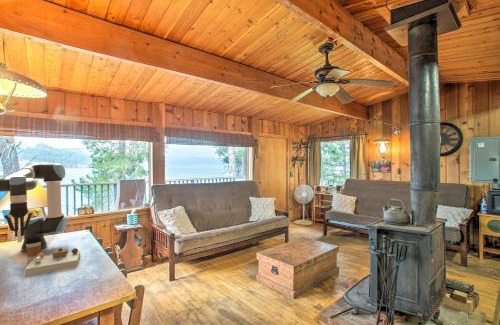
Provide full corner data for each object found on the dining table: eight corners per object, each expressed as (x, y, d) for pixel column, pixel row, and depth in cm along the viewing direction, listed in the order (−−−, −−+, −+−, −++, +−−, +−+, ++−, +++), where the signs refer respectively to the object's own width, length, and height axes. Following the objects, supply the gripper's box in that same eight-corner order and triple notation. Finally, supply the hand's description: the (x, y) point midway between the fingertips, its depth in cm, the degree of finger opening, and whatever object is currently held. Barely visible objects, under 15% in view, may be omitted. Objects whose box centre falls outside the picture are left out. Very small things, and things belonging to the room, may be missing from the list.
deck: (33, 264, 166) (33, 257, 166) (80, 256, 178) (80, 250, 178) (25, 276, 149) (24, 269, 149) (77, 266, 161) (77, 260, 161)
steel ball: (35, 262, 159) (35, 256, 159) (42, 261, 160) (42, 255, 160) (33, 264, 156) (33, 258, 156) (41, 263, 157) (41, 257, 157)
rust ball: (37, 257, 166) (37, 252, 166) (44, 256, 168) (44, 251, 168) (36, 259, 163) (36, 254, 163) (43, 258, 165) (43, 253, 165)
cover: (54, 254, 171) (54, 248, 171) (67, 252, 175) (67, 246, 175) (52, 257, 165) (52, 251, 165) (66, 255, 169) (66, 249, 169)
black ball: (72, 253, 173) (71, 248, 173) (78, 252, 175) (78, 247, 175) (71, 254, 170) (71, 249, 170) (77, 253, 172) (77, 248, 172)
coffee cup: (32, 263, 168) (32, 240, 168) (22, 262, 169) (21, 239, 169) (45, 258, 176) (44, 236, 176) (35, 257, 178) (34, 236, 178)
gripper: (1, 204, 147) (3, 245, 147) (31, 201, 154) (32, 241, 154) (6, 202, 154) (7, 242, 154) (34, 200, 160) (35, 238, 160)
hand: (19, 241), depth 154 cm, fingers closed
